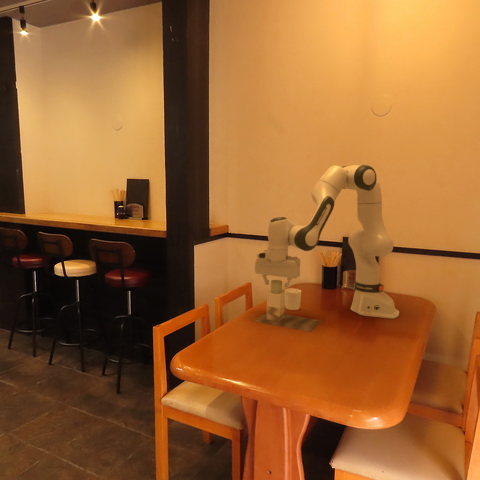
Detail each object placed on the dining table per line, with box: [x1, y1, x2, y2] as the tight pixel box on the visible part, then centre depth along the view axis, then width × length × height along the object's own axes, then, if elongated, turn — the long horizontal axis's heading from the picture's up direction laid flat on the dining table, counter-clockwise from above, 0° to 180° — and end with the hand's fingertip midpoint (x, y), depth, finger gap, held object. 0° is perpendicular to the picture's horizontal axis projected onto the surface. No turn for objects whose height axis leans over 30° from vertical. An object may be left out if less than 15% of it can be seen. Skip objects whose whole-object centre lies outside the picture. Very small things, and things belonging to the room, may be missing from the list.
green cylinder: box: [270, 279, 283, 294], centre depth 182 cm, size 5×5×5 cm
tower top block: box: [266, 290, 285, 308], centre depth 183 cm, size 6×6×6 cm
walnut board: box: [253, 311, 323, 333], centre depth 182 cm, size 26×16×2 cm, turn 63°
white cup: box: [284, 288, 302, 311], centre depth 200 cm, size 8×8×10 cm
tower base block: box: [266, 305, 286, 322], centre depth 184 cm, size 6×6×6 cm
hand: (276, 285), depth 183 cm, fingers open, 8 cm apart
